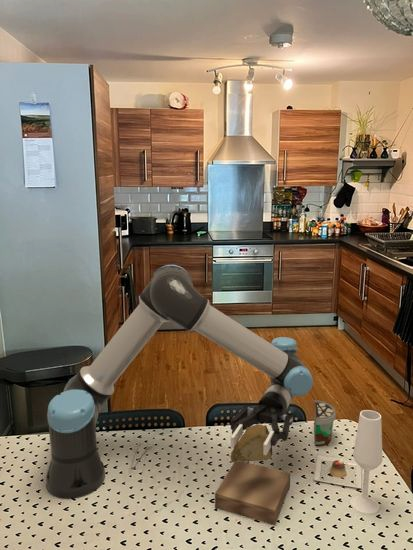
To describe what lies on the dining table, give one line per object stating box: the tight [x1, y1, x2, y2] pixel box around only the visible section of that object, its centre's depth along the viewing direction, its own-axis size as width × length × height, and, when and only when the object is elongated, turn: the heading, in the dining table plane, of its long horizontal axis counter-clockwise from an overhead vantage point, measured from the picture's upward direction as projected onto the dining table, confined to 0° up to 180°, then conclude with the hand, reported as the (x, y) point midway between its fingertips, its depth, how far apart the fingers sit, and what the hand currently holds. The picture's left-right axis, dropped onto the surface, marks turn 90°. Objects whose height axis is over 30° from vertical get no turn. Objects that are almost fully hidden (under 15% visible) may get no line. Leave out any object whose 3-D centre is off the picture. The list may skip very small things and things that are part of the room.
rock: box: [230, 423, 274, 463], centre depth 114 cm, size 11×9×10 cm
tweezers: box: [128, 442, 153, 475], centre depth 132 cm, size 17×5×2 cm, turn 170°
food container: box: [313, 399, 337, 447], centre depth 141 cm, size 12×6×10 cm, turn 168°
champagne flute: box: [349, 409, 384, 515], centre depth 111 cm, size 7×7×24 cm
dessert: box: [313, 454, 363, 490], centre depth 126 cm, size 12×12×5 cm
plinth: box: [214, 461, 291, 526], centre depth 116 cm, size 15×15×4 cm
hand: (248, 446), depth 109 cm, fingers closed on rock, 7 cm apart
